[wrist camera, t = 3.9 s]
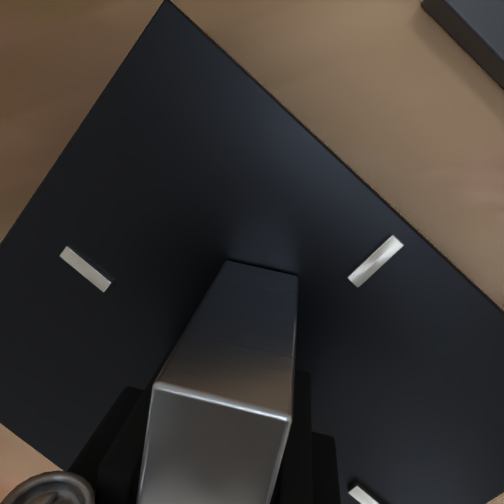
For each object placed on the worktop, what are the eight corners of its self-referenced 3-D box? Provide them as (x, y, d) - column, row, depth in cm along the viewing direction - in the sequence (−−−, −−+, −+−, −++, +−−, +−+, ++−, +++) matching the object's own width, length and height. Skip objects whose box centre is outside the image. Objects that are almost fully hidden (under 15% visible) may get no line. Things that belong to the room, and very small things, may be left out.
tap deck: (-8, 317, 15) (-86, 366, 12) (200, 28, 11) (162, -7, 8) (284, 545, 16) (279, 640, 13) (549, 353, 13) (624, 424, 10)
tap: (224, 258, 10) (143, 394, 5) (299, 275, 10) (293, 431, 5) (183, 483, 12) (98, 735, 7) (244, 499, 12) (200, 767, 7)
